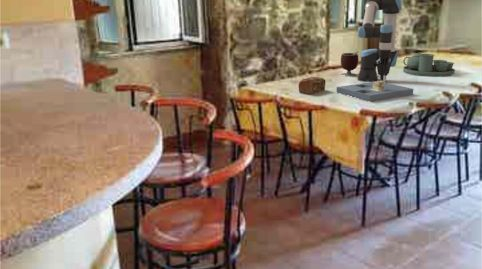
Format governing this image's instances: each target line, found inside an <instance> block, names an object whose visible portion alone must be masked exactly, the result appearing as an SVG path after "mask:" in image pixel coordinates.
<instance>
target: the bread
mask: <svg viewBox="0 0 482 269" xmlns="http://www.w3.org/2000/svg"><path fill="white" fill-rule="evenodd" d="M325 88H326V79H325V78H323V77H320V76H310V77H307V78H303V79H301V80H300V81H299V82H298V91H299V92H298V93H300V94H307V95H312V94H316V93H320V92H323V91H325Z"/></svg>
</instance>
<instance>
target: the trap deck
mask: <svg viewBox="0 0 482 269" xmlns="http://www.w3.org/2000/svg"><path fill="white" fill-rule="evenodd" d="M373 82H374V81H368V82H363V83H356V84H348V85H339V86H336V92H337V93H336V94H339V93H341V94H340V95H343V94H345V95H344V96H347V95H349V96H348V97H350V96H352V97H351V98H354V97H356V98H355V99H357V98H359V99H358V100H361V99H362V101H365V100H366V101H365V102H368V101H372V102H376V100H378V101H382V100H390V99H394V98H395V99H397V98H402V97H408V96H413V95H414V88H413V87H412V88H411V87H406V86H402V85H397V84H393V83H389V82H385V85H384V90H374V89H373Z"/></svg>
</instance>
